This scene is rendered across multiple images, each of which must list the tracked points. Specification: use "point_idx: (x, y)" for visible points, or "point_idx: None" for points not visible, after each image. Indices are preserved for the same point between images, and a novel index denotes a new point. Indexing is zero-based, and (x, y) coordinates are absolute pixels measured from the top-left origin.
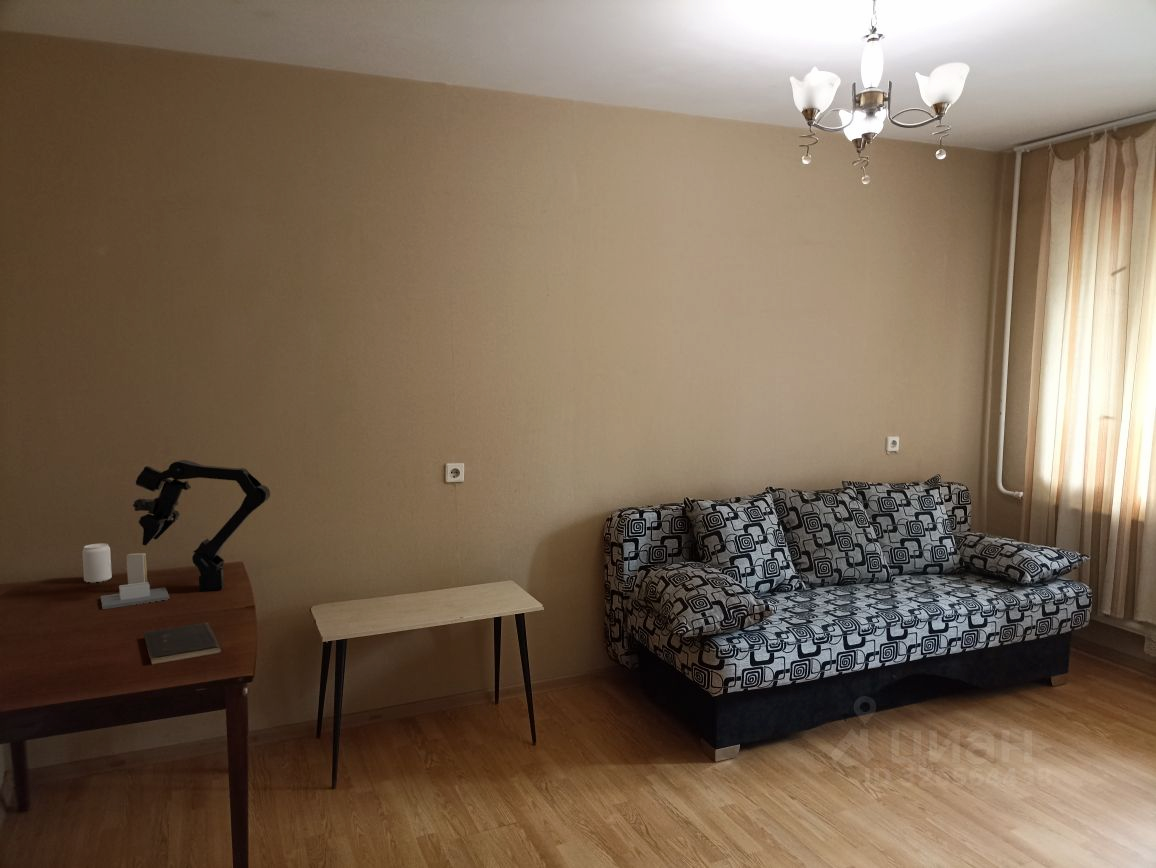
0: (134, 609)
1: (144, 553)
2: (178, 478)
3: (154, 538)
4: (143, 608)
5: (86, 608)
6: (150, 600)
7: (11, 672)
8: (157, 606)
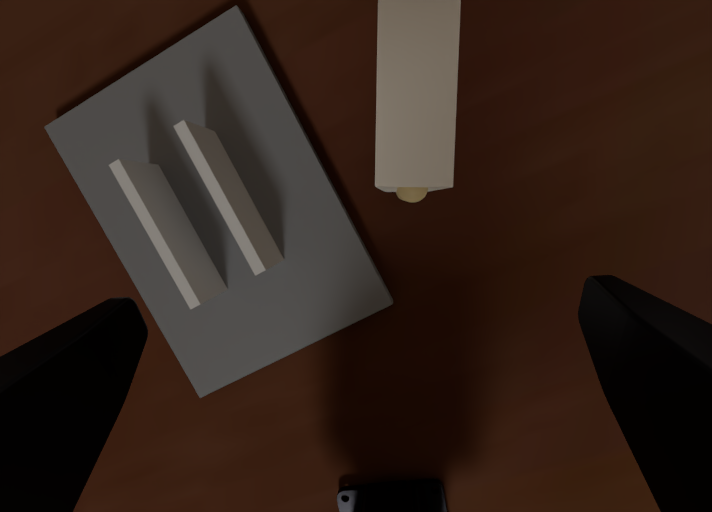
0: (58, 288)
1: (439, 177)
2: None
3: (586, 296)
4: None
5: (75, 33)
6: (158, 320)
7: None
8: None
